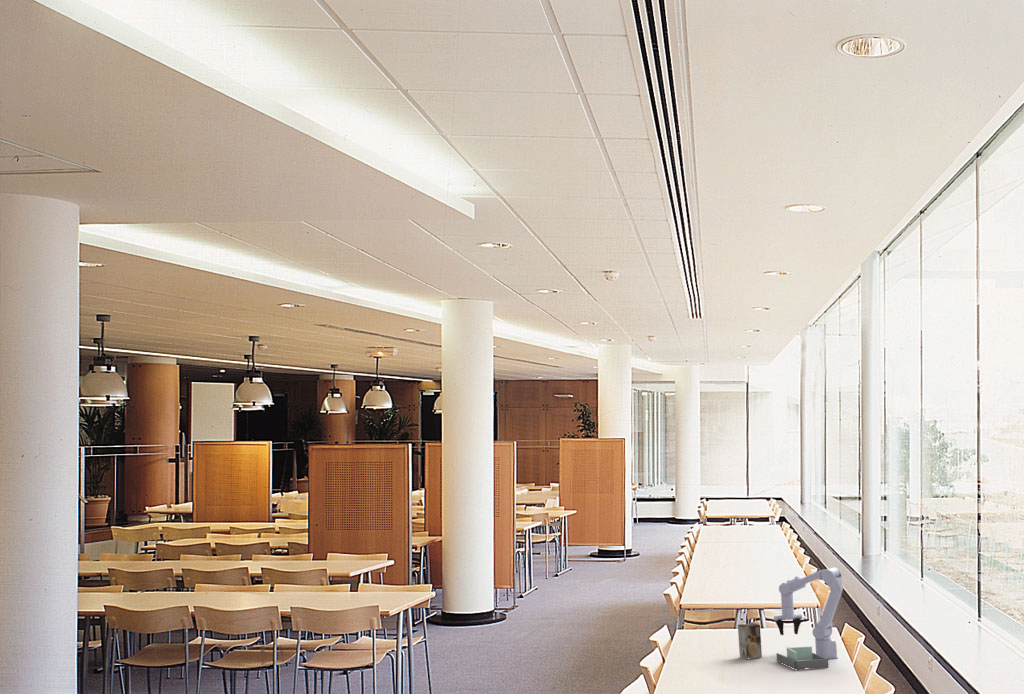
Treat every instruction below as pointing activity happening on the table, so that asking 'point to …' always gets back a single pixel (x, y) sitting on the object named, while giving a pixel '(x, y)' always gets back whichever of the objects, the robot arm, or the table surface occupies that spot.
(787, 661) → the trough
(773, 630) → the table surface
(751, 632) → the coffee box
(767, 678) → the table surface
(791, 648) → the l-shaped corner panel
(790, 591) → the robot arm
